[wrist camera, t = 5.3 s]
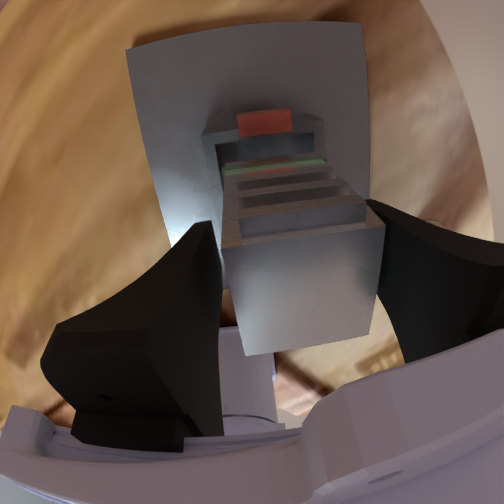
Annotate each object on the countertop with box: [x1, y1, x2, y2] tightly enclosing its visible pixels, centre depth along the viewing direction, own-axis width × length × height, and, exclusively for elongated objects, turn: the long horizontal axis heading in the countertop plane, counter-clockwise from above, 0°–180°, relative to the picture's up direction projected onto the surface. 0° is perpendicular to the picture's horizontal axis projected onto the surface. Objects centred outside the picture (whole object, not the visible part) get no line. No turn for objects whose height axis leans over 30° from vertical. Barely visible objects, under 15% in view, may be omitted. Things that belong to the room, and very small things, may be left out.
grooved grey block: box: [221, 152, 386, 356], centre depth 11 cm, size 5×4×7 cm
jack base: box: [125, 21, 370, 289], centre depth 17 cm, size 18×14×5 cm
